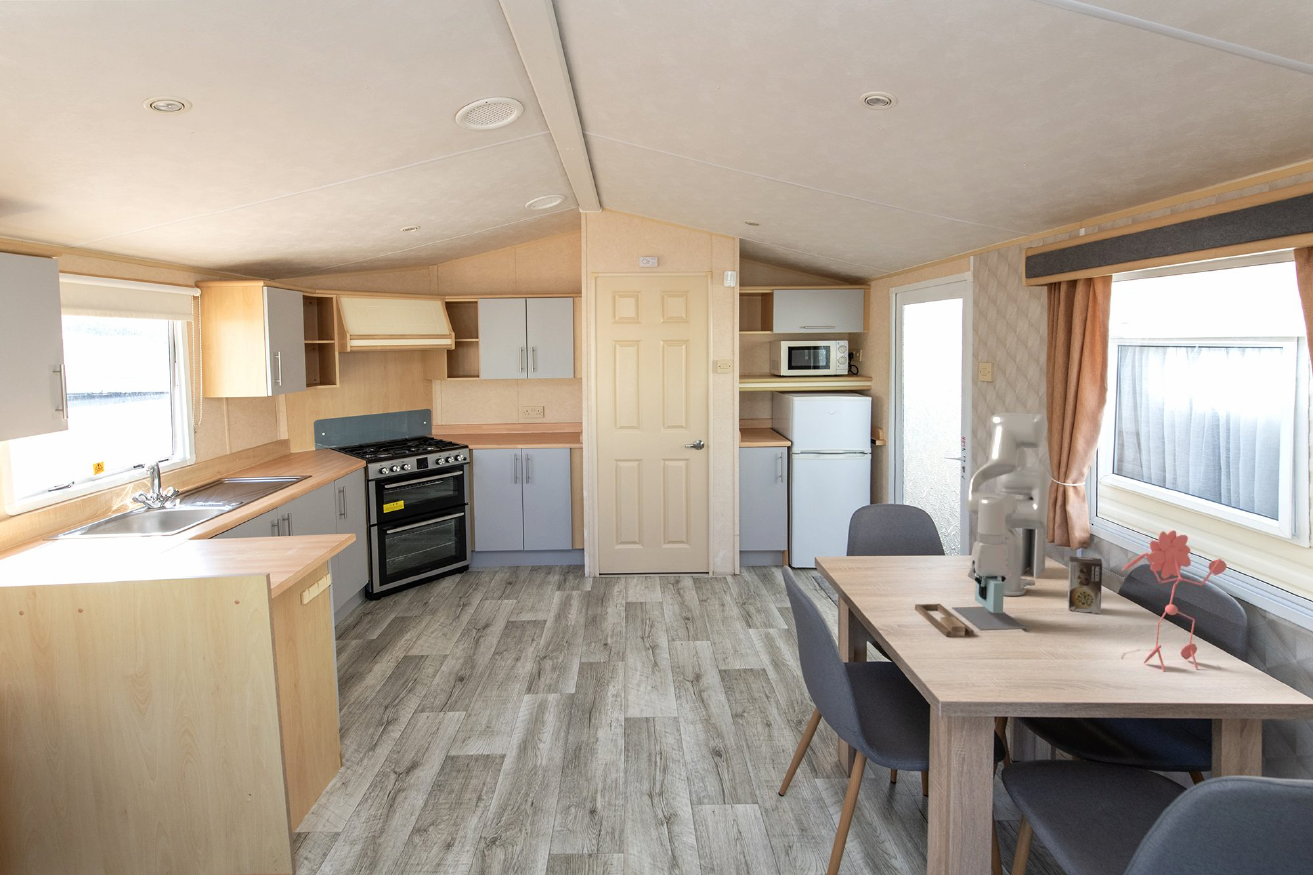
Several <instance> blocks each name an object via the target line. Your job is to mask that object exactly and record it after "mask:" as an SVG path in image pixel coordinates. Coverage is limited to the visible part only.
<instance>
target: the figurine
mask: <svg viewBox="0 0 1313 875" xmlns="http://www.w3.org/2000/svg"><path fill="white" fill-rule="evenodd" d="M1188 540H1189V536H1188V535H1186V534H1180V535H1178V536H1177V531H1176V530H1170V531H1169V532H1168V533H1166V532H1165V531H1161V532H1160V533H1159V534H1158V540H1150V542H1149V548H1150V550H1151V552H1149V553H1148V552H1147V551H1146V552H1144V553H1143V554H1141V555H1139V556H1137V557H1135V558H1134V559H1133V560H1131V561H1130V562H1129V563H1128V564H1126V566H1124V567H1123V568H1122V569H1121V572H1125V571H1126V570H1127V569H1128V570H1129V569H1130V568H1132V567H1133V566H1134V565H1136V564H1137V563H1139V562H1140V561H1142V560H1143V558H1145V557H1146V559H1147V561H1148V563H1149V565H1150V571H1151V572H1153V573H1154V575H1155V577H1156V579H1157V582H1158V584H1165V583H1170V582H1173V581H1175V582H1174V583H1173V585H1172V586H1173V587H1172V590H1171V596H1170V601H1169V604H1167V605H1166V606H1165V608H1164V610H1165V611H1164V612H1163V614H1162V616H1161V618H1160V619H1159V621H1158V622H1157V627H1156V642H1155V643H1156V644H1155V647H1154V649H1152V650H1151V652H1150V653H1149V654H1148V655H1147V657H1146V658H1145V660H1144V662H1143V664H1146V663H1147V662H1148V661H1149V660H1151V658H1153V657H1154V656H1155V655H1156V654H1157V655H1158V657H1159V661H1160V665H1161V666H1160V667H1161V669H1162V672H1166V668H1165V664H1164V660H1163V658H1162V655H1161V651H1160V650H1161V648H1162V645H1161V644H1158V643H1159V633H1160V624H1161V622H1162V620H1163V619H1164V617H1165V616H1166V614H1168V615H1170V616H1173V615H1174V616H1175V615H1176V614H1180V615H1181V616H1183V617H1185V618H1187V619H1189V620H1192V623H1191V624H1192V625H1191V631H1190V638H1189V643H1188V644H1186V645H1184V647H1182V649H1181V650H1180V656H1181V657H1182V658H1183V659H1184V660H1186V661H1187V660H1189V659H1190V658H1192V661H1193V665H1194V668H1195V669H1196V668H1198V664H1197V660H1196V658H1195V654H1196V653H1197V651H1198V647H1197V645H1196V644H1195V643H1192V639H1193V636H1194V634H1193V633H1194V629H1195V623H1196V622H1195V621H1196V619H1195V618H1193V617H1191V616H1188V615H1187V614H1186V613H1185V614H1184V613H1182V612H1180V611H1179V609H1178V607H1177V606H1176V605H1174V604H1173V599H1174V596H1175V592H1176V591H1175V590H1176V587H1177V585H1178V584H1179V582H1183V581H1184V582H1187V583H1190V584H1194V585H1198V586H1203V585H1205V583H1206V582H1207V580H1208V579H1209V578H1210V577H1211V575H1212V574H1213V575H1214V576H1218V575H1220V574H1222V573H1224V572H1225V570H1226V569H1227V563H1226V562H1225V560H1222V559H1221V558H1217V559H1214V560H1211V561H1210V563H1209V564H1208V566H1207V567H1208V570H1209V572H1208V573H1207V575H1206V576H1205V578H1204V579H1203V581H1202V582H1198V581H1194V580H1190V579H1186V578H1184V577H1182V575H1181V567H1183V568H1184V567H1185V568H1187V567H1190V566H1191V564H1192V563H1191V562H1192V561H1191V558H1190V556H1189V554H1190V553H1191V548H1190V547H1189V546H1188V545H1187V542H1188ZM1157 572H1161V573H1160V574H1161V577H1162V578H1163V579H1164V580H1161V578H1160V576H1159V574H1158V573H1157ZM1170 576H1174V577H1175V578H1170ZM1177 576H1178V577H1177ZM1168 578H1169V579H1168ZM1123 656H1124V655H1121V659H1122V658H1123ZM1216 666H1217V667H1218V668H1220V669H1221V668H1222V667H1221V666H1219V665H1218V664H1217V665H1216ZM1198 669H1199V668H1198Z"/></svg>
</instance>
